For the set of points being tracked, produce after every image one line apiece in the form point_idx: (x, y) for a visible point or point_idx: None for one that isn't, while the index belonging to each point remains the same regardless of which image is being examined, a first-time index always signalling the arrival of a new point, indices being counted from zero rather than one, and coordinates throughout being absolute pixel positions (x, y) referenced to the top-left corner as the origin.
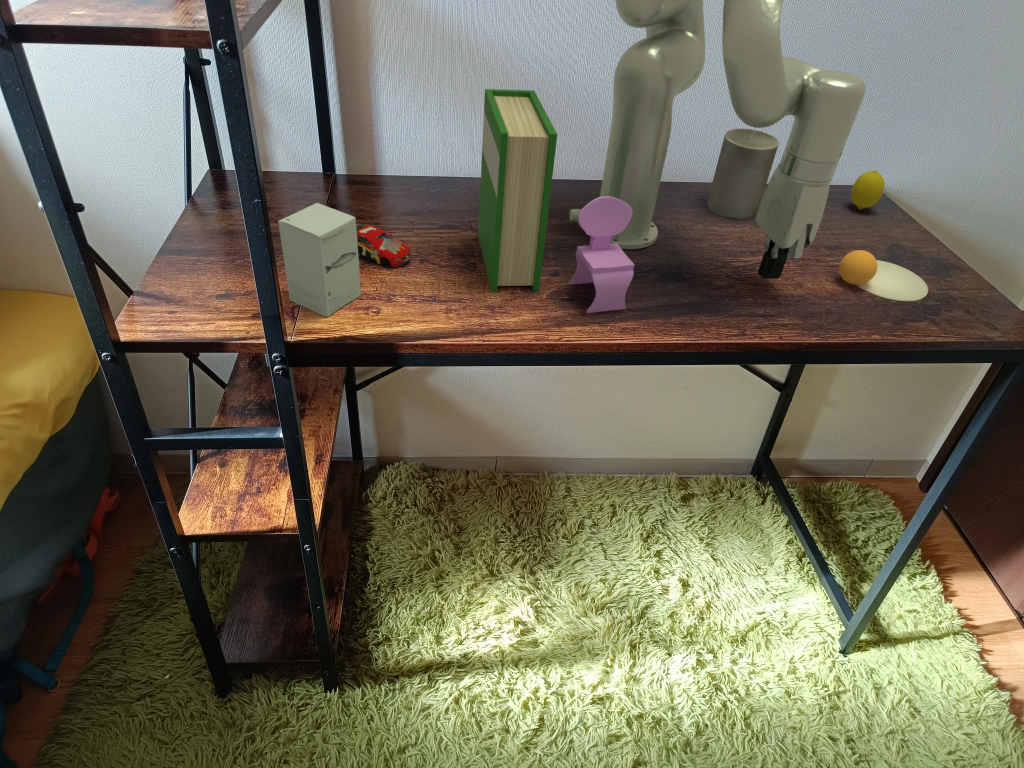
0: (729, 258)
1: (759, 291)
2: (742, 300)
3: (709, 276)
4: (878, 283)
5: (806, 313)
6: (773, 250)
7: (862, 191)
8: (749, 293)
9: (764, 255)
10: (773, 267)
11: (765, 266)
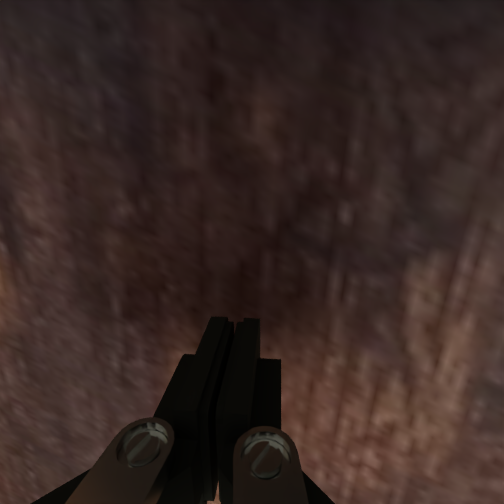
0: (484, 275)
1: (187, 279)
2: (111, 169)
3: (334, 82)
4: None
5: (51, 372)
6: (139, 475)
7: None
8: (170, 229)
9: (235, 395)
10: (170, 388)
11: (196, 355)
